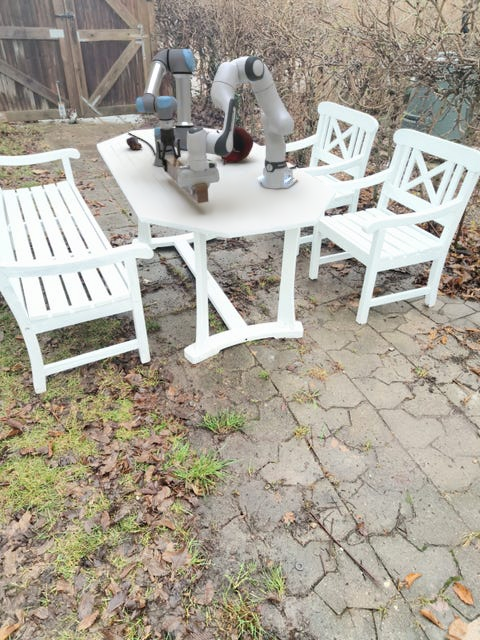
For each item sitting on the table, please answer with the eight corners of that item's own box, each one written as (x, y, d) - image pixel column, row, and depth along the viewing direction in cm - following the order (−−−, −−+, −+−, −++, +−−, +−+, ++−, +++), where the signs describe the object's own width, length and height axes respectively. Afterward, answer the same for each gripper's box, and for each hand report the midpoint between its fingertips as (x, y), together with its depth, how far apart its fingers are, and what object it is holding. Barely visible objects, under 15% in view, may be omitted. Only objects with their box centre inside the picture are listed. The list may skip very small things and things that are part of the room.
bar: (163, 169, 262) (162, 155, 258) (172, 168, 264) (171, 154, 259) (197, 203, 216) (196, 186, 211) (208, 201, 217) (207, 184, 213)
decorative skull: (214, 133, 304) (214, 130, 280) (248, 125, 303) (250, 121, 280) (221, 165, 311) (221, 165, 287) (254, 158, 310) (257, 157, 286)
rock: (139, 148, 333) (125, 149, 329) (137, 135, 329) (123, 137, 325) (143, 149, 323) (130, 150, 319) (141, 136, 320) (128, 137, 316)
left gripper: (151, 131, 240) (156, 174, 253) (185, 127, 246) (188, 170, 259) (148, 128, 245) (153, 171, 259) (180, 125, 251) (184, 167, 265)
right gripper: (178, 168, 205) (181, 198, 213) (220, 163, 212) (221, 192, 220) (174, 165, 210) (177, 194, 218) (215, 160, 216) (216, 188, 224)
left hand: (170, 170), depth 259 cm, fingers closed on bar, 5 cm apart
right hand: (199, 193), depth 219 cm, fingers closed on bar, 5 cm apart
